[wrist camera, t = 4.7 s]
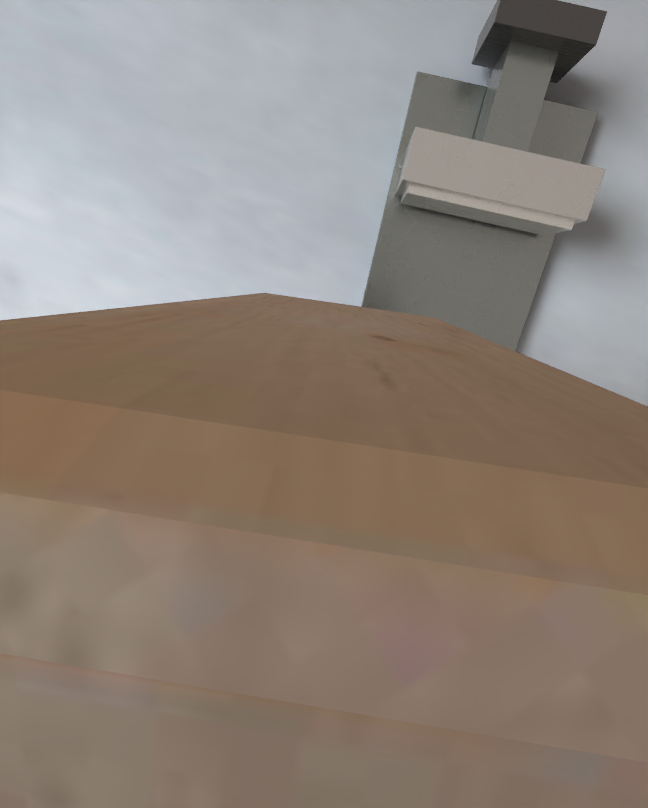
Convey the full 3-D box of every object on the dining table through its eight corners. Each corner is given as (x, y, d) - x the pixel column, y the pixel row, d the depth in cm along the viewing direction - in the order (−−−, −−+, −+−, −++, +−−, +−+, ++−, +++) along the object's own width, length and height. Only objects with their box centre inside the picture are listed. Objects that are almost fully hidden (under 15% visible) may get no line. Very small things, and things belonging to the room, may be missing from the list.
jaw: (435, 26, 29) (451, -23, 24) (608, 65, 29) (658, 23, 24) (393, 202, 32) (400, 189, 28) (549, 238, 32) (583, 230, 28)
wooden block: (450, 318, 21) (1557, 716, 2) (411, 501, 24) (661, 1442, 4) (248, 289, 21) (-787, 348, 2) (232, 473, 24) (-260, 1249, 5)
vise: (415, 77, 31) (429, 31, 25) (590, 117, 31) (644, 80, 25) (324, 461, 40) (319, 492, 34) (461, 492, 40) (479, 528, 34)
